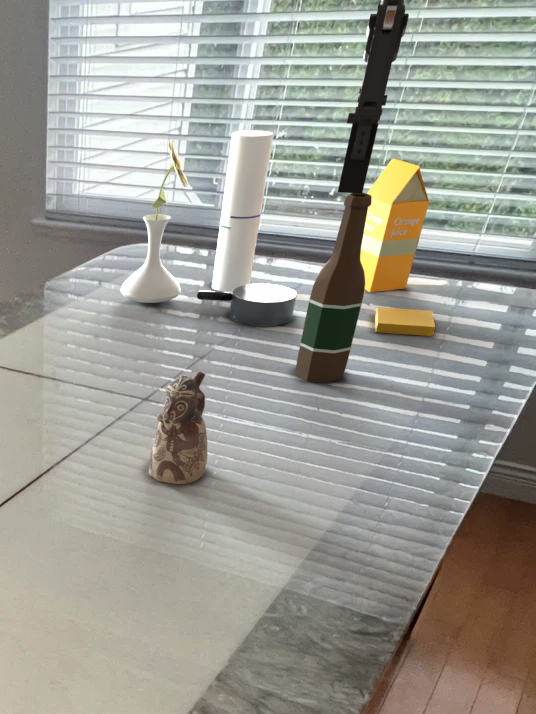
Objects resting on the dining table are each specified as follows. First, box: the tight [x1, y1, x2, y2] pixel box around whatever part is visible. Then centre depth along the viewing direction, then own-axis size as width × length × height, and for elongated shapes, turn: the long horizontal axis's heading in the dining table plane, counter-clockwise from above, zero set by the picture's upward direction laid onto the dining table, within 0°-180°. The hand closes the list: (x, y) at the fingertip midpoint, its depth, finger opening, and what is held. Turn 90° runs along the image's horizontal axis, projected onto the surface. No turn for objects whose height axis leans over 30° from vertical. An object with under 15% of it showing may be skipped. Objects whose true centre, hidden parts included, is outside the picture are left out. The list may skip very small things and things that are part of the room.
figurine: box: [148, 370, 208, 485], centre depth 103 cm, size 7×7×12 cm
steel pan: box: [196, 283, 298, 328], centre depth 150 cm, size 17×11×4 cm, turn 72°
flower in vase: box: [119, 139, 189, 304], centre depth 153 cm, size 13×11×25 cm
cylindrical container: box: [211, 129, 275, 293], centre depth 156 cm, size 7×7×25 cm
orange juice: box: [360, 158, 430, 293], centre depth 157 cm, size 8×9×20 cm
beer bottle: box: [294, 192, 372, 384], centre depth 122 cm, size 8×8×24 cm
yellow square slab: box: [374, 306, 436, 337], centre depth 145 cm, size 9×9×2 cm
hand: (351, 181), depth 101 cm, fingers open, 13 cm apart
